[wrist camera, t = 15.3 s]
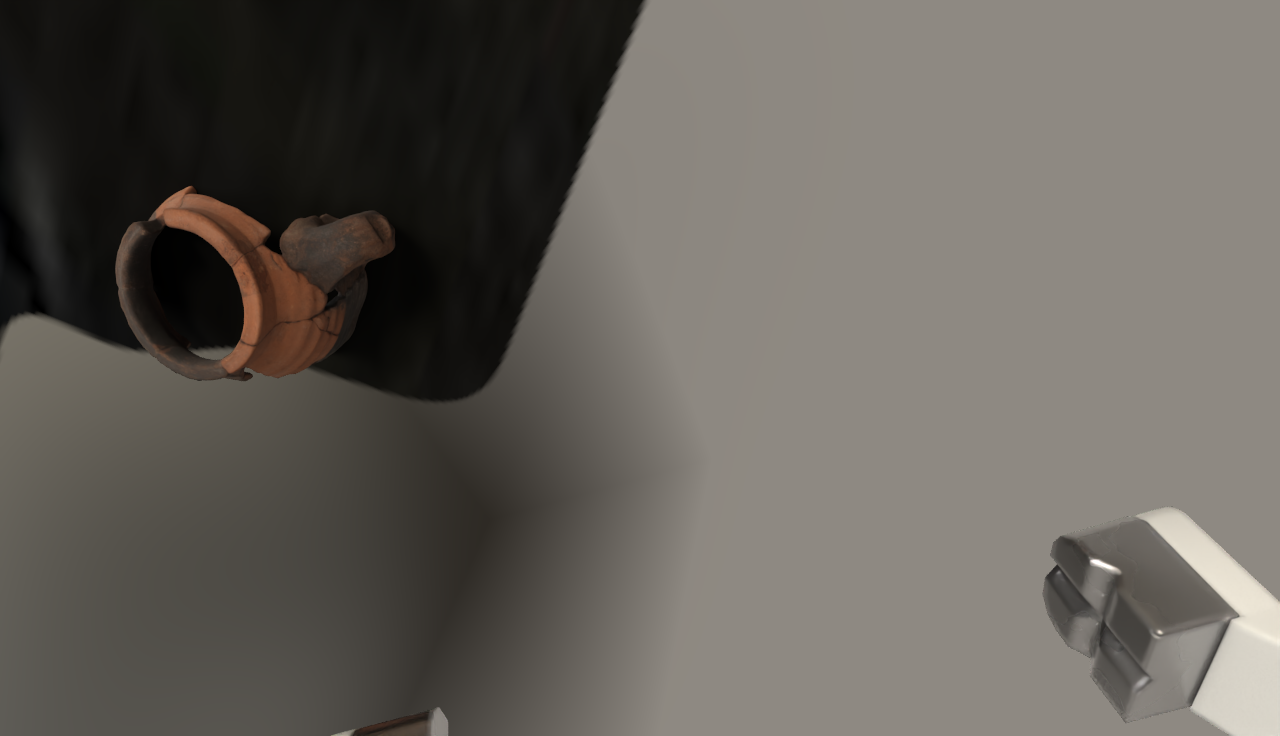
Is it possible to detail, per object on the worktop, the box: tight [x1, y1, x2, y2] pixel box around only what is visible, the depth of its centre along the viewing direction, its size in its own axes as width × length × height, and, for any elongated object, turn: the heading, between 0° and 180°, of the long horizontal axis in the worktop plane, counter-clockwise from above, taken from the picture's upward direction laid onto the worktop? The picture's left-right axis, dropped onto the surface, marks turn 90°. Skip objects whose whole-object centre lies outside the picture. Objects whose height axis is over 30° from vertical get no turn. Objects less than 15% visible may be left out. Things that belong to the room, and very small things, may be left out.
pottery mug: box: [115, 186, 395, 381], centre depth 36 cm, size 12×10×8 cm
